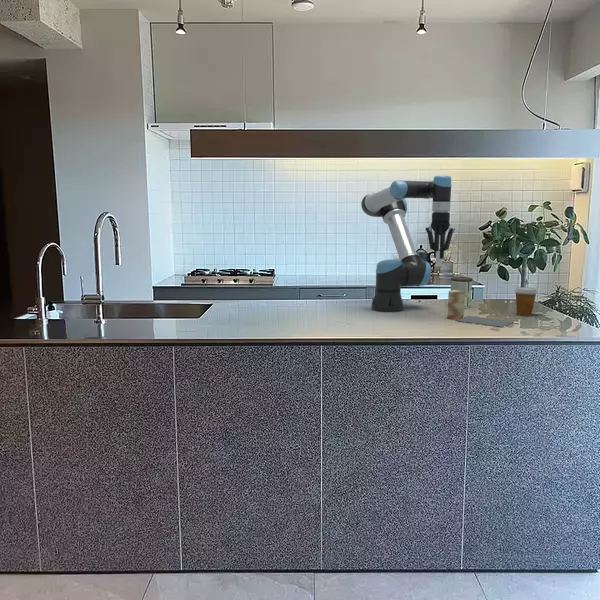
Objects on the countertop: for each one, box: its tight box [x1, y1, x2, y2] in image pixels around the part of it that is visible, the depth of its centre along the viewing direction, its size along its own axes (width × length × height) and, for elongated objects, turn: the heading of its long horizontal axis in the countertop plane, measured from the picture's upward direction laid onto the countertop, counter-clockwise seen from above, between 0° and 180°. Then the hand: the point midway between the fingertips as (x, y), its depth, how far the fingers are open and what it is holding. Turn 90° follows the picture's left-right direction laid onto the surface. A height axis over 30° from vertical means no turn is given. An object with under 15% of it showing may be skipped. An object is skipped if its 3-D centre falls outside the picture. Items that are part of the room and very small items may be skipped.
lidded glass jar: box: [450, 276, 473, 309], centre depth 275 cm, size 10×10×14 cm
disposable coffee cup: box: [514, 286, 538, 317], centre depth 255 cm, size 10×10×12 cm
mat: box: [455, 315, 515, 328], centre depth 238 cm, size 20×14×1 cm
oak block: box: [446, 290, 465, 321], centre depth 245 cm, size 5×6×12 cm
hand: (438, 265), depth 248 cm, fingers closed
